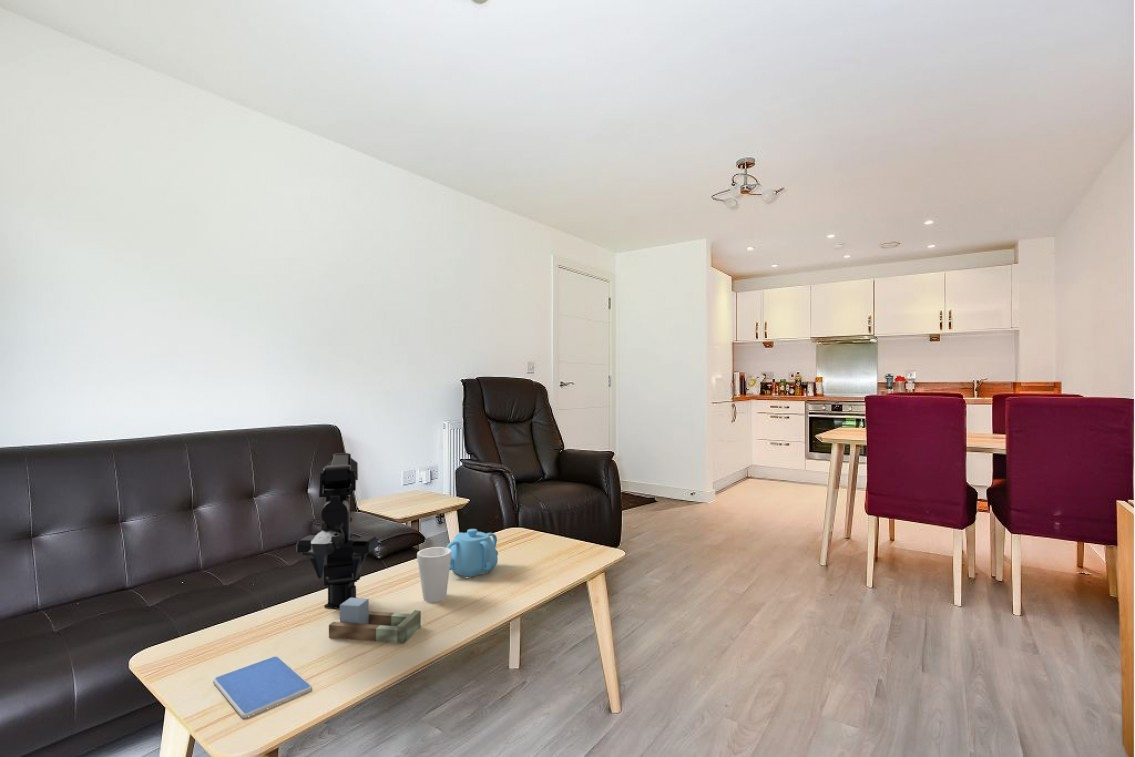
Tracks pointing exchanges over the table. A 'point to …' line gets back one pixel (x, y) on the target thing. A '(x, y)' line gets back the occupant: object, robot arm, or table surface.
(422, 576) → the foam cup
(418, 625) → the u-shaped frame
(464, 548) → the decorative pot
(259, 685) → the tablet computer
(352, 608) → the block
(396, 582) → the table surface
